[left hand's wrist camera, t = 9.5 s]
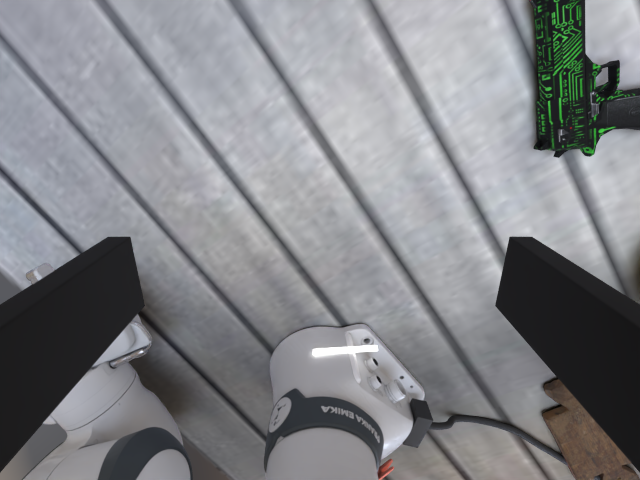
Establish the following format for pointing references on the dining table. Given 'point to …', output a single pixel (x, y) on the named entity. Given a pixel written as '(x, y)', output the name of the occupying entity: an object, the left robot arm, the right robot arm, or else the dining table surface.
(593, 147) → the handgun
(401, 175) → the dining table surface
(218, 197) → the dining table surface
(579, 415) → the brown notched plank
